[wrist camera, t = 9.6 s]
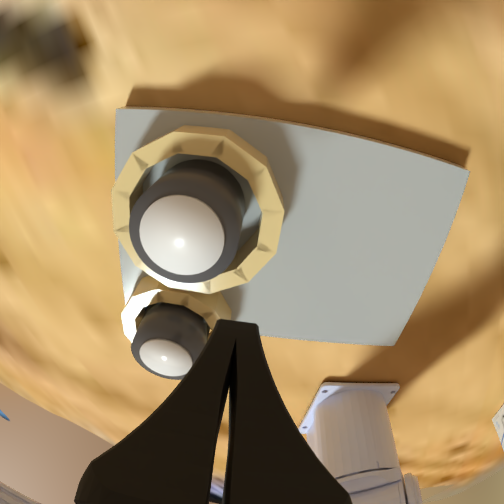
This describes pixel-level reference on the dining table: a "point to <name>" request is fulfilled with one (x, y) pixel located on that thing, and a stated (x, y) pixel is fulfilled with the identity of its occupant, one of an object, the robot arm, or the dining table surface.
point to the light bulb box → (499, 424)
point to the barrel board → (285, 232)
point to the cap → (189, 222)
